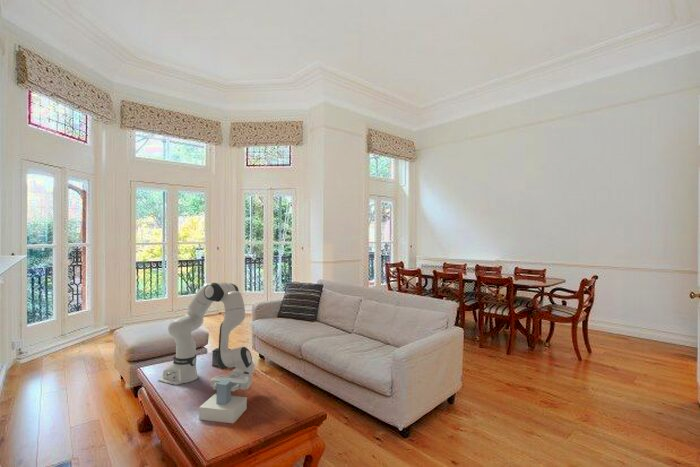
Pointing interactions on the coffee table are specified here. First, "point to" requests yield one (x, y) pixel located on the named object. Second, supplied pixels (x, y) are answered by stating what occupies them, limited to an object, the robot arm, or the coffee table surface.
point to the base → (223, 409)
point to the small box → (215, 357)
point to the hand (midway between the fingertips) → (223, 389)
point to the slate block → (223, 392)
